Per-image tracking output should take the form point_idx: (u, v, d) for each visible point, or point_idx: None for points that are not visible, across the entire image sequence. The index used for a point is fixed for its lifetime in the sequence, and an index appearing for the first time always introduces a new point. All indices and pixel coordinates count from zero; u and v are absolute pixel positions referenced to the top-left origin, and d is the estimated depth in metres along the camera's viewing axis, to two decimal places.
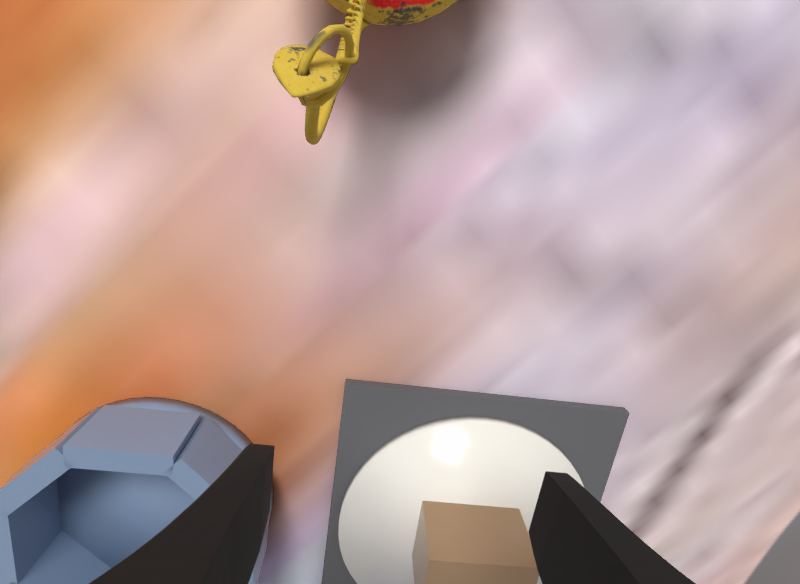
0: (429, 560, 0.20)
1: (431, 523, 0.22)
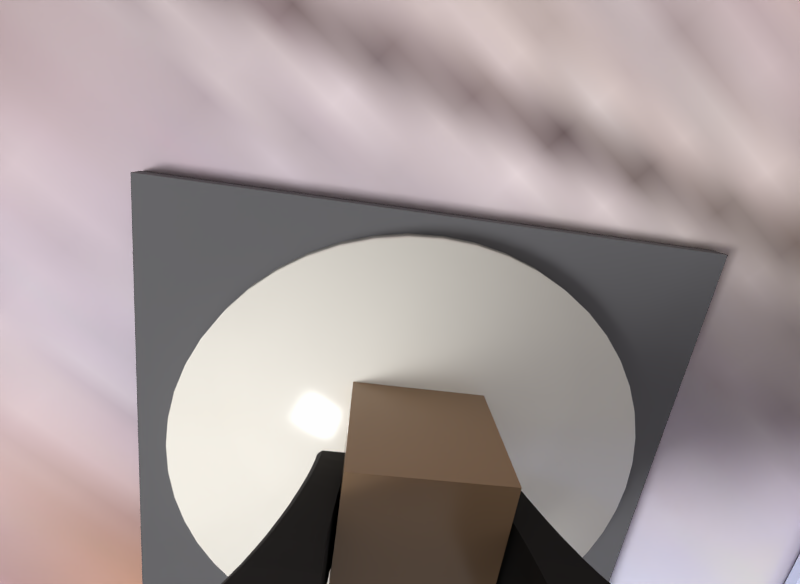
0: None
1: None
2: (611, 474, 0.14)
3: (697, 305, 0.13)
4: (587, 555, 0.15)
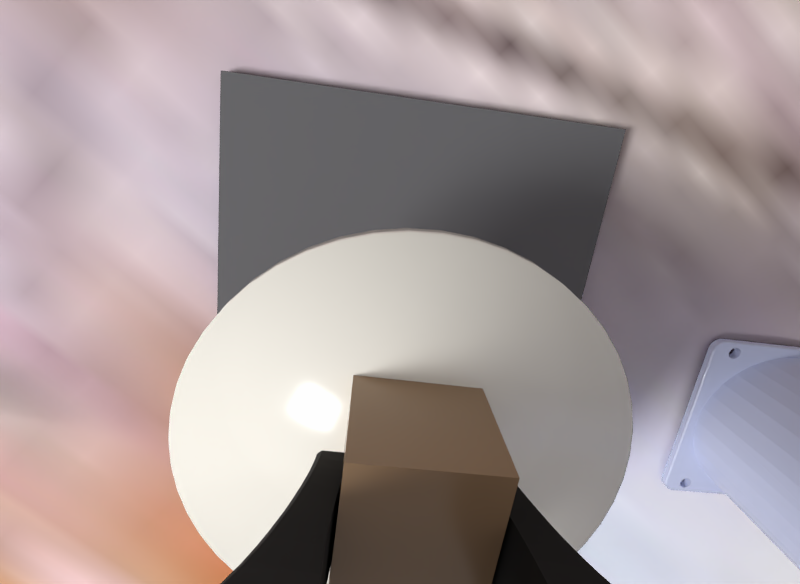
0: None
1: None
2: (609, 467, 0.14)
3: (607, 167, 0.18)
4: None
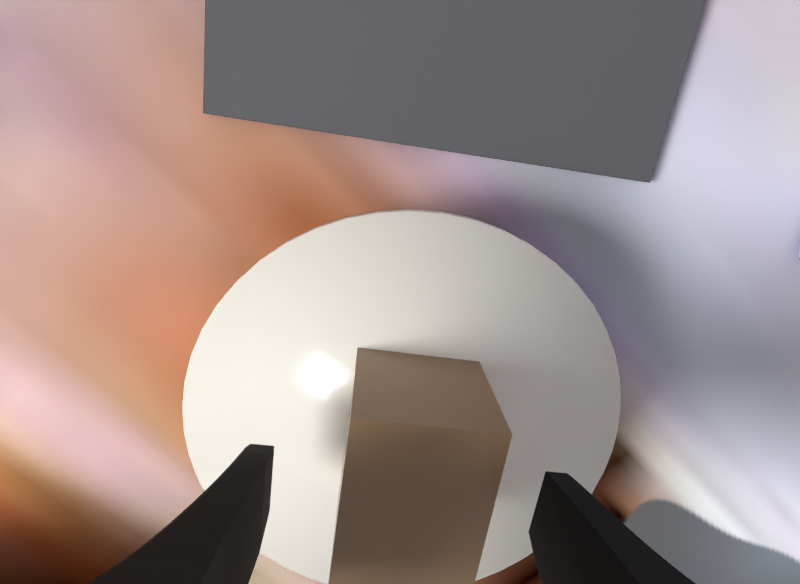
0: None
1: (335, 520, 0.13)
2: (599, 438, 0.14)
3: None
4: (655, 57, 0.15)
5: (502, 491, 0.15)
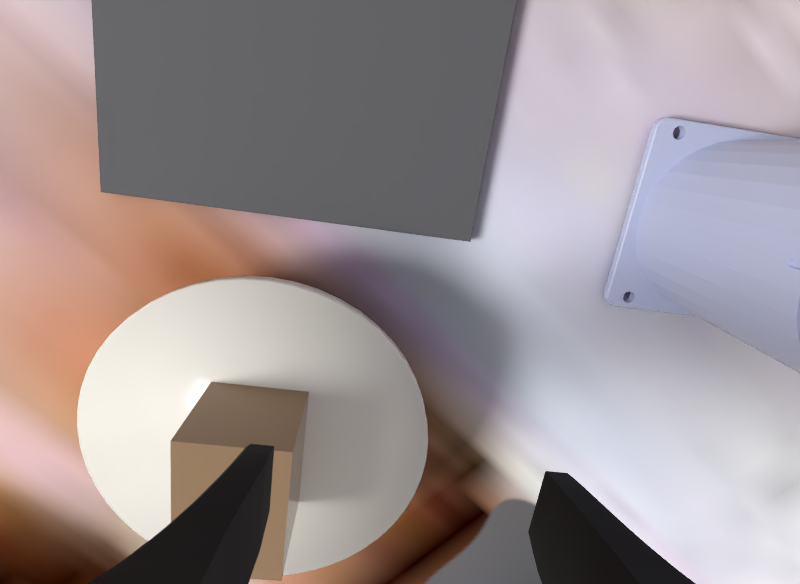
0: None
1: None
2: (413, 450, 0.18)
3: None
4: (463, 145, 0.19)
5: (341, 493, 0.19)
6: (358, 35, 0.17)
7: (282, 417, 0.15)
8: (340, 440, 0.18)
